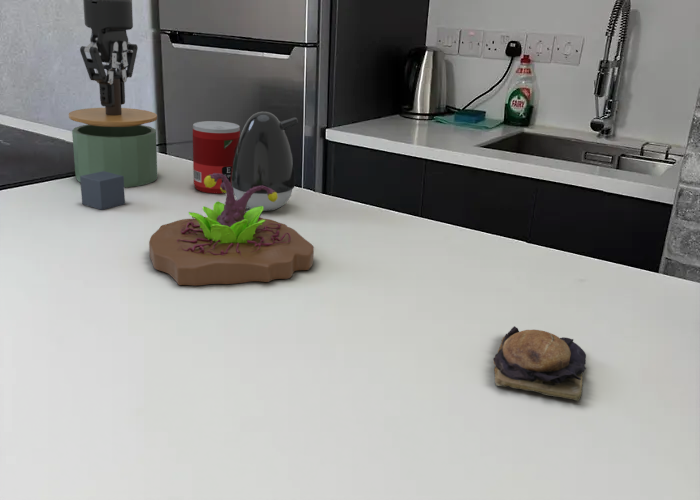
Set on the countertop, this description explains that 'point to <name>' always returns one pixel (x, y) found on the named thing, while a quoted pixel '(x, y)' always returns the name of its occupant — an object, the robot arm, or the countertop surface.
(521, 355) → the toy sandwich
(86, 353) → the countertop surface
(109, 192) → the block
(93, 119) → the lid
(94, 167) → the tin
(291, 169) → the pump dispenser
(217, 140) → the canned food
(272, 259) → the plant
